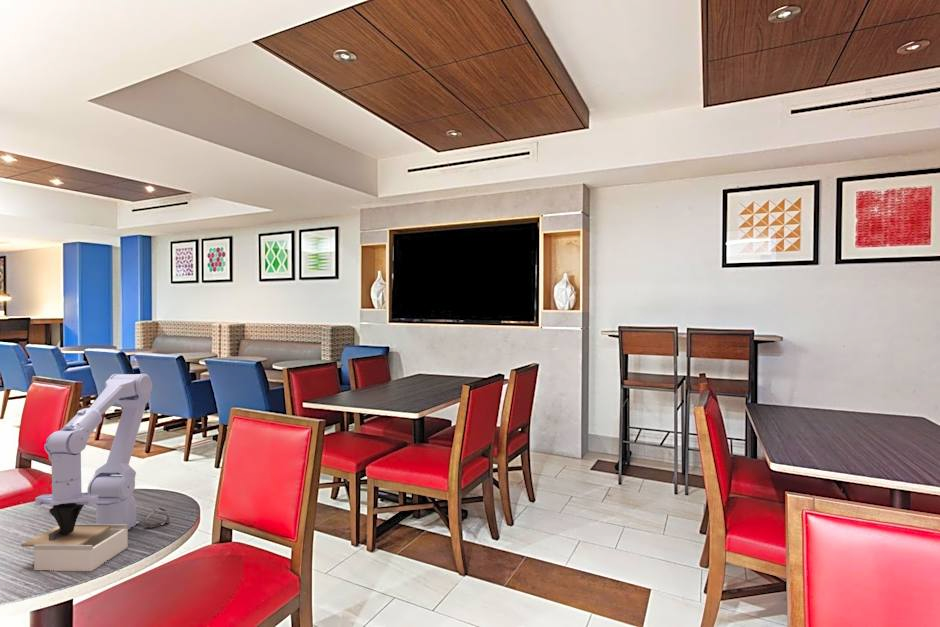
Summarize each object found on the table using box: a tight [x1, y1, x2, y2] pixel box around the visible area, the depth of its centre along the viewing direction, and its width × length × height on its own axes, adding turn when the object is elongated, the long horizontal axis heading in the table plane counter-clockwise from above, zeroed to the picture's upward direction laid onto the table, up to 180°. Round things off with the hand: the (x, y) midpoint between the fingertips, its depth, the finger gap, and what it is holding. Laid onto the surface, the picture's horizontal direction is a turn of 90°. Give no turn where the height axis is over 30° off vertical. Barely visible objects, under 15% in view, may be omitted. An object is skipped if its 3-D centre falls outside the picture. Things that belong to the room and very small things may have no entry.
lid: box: [20, 525, 110, 548], centre depth 125 cm, size 10×14×2 cm
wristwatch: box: [143, 507, 170, 529], centre depth 144 cm, size 4×6×5 cm, turn 133°
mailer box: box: [33, 523, 129, 572], centre depth 125 cm, size 12×14×6 cm
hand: (67, 533), depth 125 cm, fingers closed
